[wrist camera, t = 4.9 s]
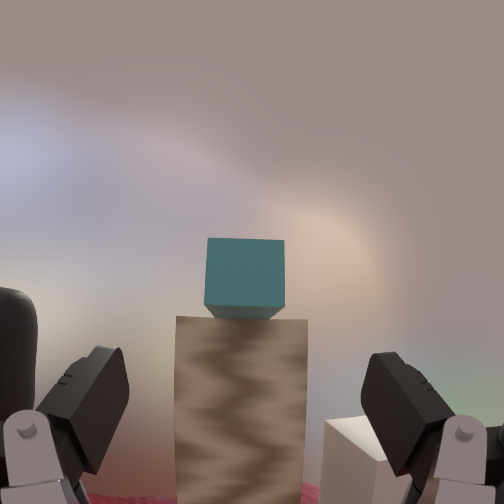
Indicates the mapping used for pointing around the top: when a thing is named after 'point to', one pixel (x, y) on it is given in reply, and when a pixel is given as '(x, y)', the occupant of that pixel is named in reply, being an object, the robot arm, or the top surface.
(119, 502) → the top surface
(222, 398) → the stand
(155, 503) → the top surface
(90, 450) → the robot arm
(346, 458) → the white tall block
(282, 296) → the teal long bar
